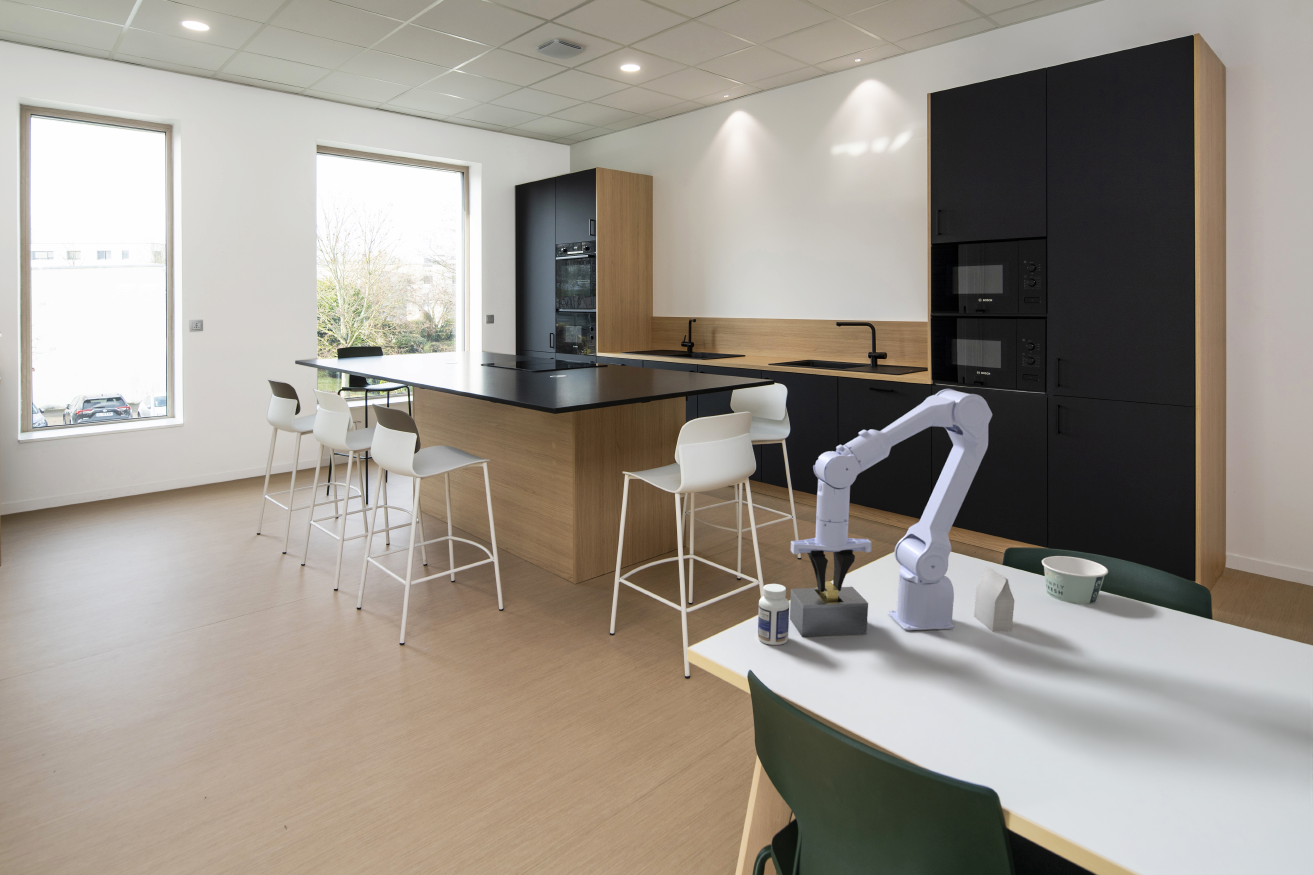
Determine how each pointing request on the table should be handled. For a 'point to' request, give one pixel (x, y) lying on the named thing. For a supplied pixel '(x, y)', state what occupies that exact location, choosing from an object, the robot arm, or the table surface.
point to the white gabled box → (994, 602)
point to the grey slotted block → (828, 613)
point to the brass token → (829, 593)
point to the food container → (1073, 579)
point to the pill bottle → (773, 615)
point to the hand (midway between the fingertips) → (828, 589)
